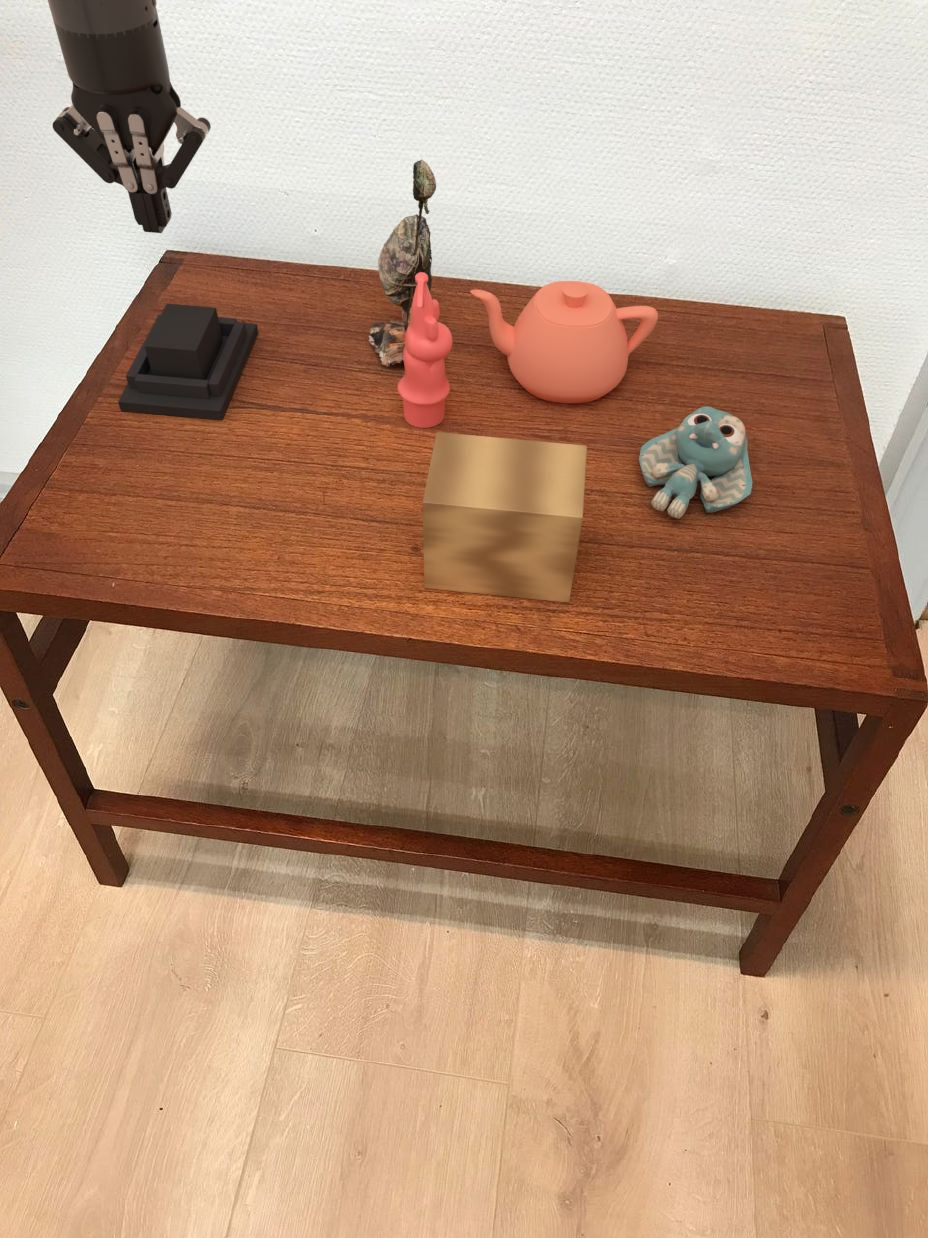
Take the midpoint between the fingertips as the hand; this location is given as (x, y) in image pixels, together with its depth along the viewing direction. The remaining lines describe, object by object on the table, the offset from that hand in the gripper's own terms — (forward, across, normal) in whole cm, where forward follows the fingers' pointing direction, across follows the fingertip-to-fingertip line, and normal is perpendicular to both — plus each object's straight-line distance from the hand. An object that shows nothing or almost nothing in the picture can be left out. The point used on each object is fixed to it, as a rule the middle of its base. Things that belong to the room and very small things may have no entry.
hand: (156, 227), depth 86 cm
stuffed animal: (+15, +50, -10) cm, 53 cm away
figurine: (+16, +24, -4) cm, 29 cm away
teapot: (+15, +36, +5) cm, 40 cm away
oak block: (+15, +33, -21) cm, 42 cm away
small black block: (+14, 0, 0) cm, 14 cm away
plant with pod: (+15, +21, +8) cm, 27 cm away
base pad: (+15, 0, 0) cm, 15 cm away
